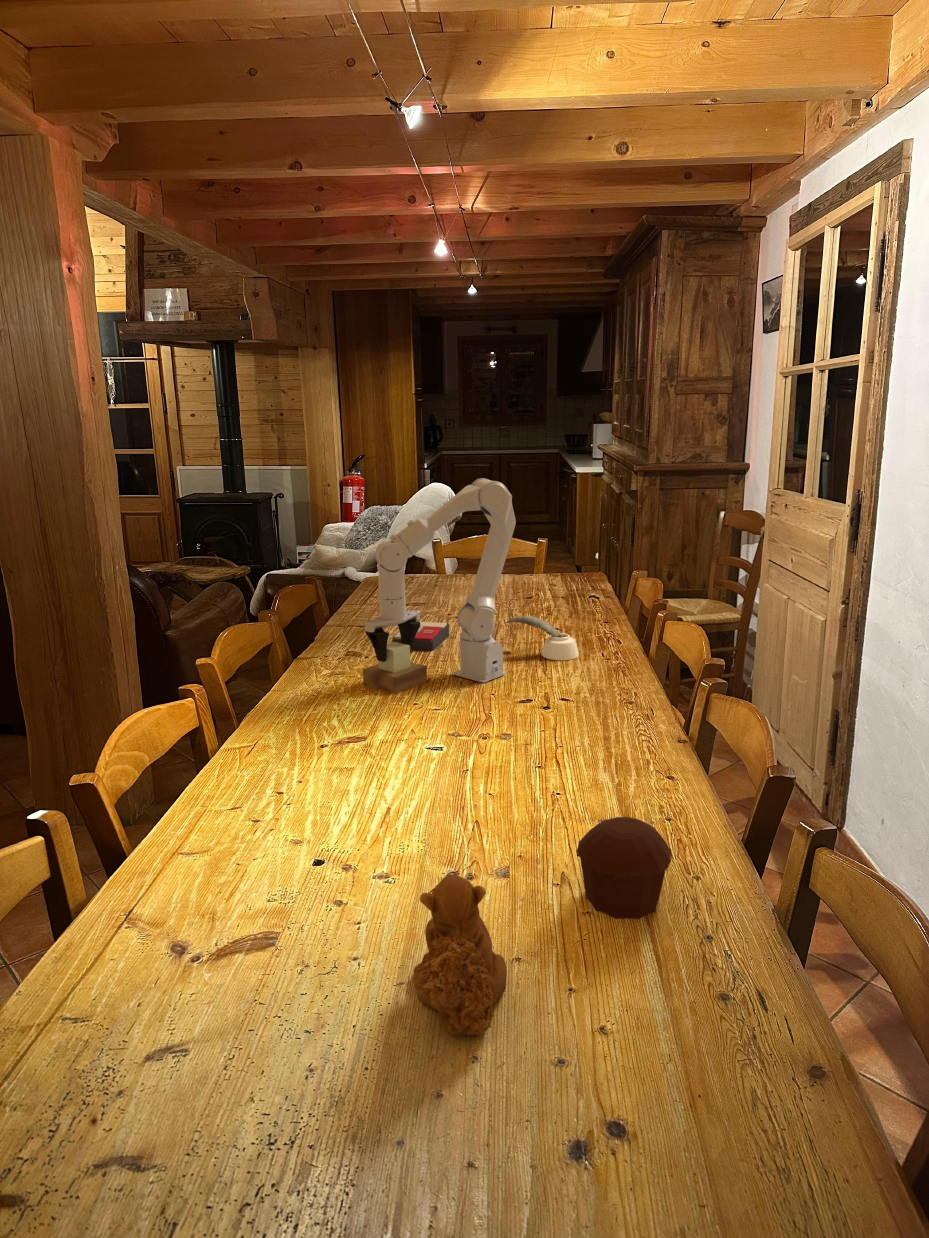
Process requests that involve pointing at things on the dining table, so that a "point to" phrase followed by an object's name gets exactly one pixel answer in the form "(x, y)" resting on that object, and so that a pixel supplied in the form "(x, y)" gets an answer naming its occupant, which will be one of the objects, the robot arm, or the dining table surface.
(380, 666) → the sage cube
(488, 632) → the robot arm
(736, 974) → the dining table surface
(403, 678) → the walnut riser
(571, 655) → the inkwell
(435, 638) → the red cream box
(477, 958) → the stuffed squirrel
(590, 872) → the muffin
